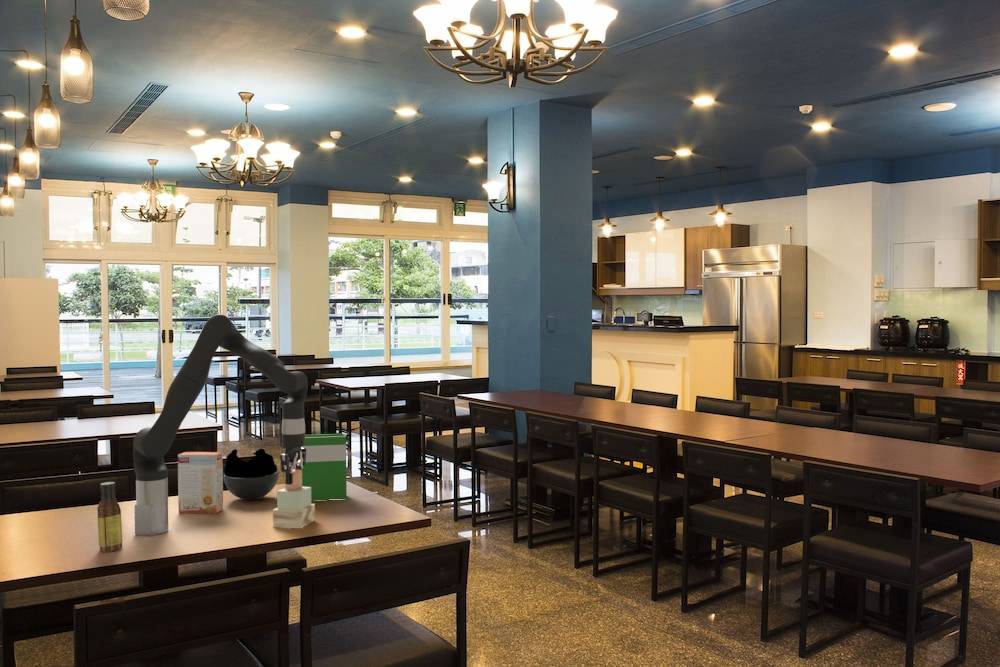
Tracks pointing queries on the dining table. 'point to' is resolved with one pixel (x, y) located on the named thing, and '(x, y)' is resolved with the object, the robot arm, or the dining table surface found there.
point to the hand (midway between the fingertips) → (293, 481)
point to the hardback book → (325, 466)
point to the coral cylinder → (295, 481)
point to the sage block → (294, 499)
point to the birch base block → (293, 517)
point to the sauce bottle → (109, 519)
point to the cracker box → (200, 482)
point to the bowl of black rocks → (250, 475)
